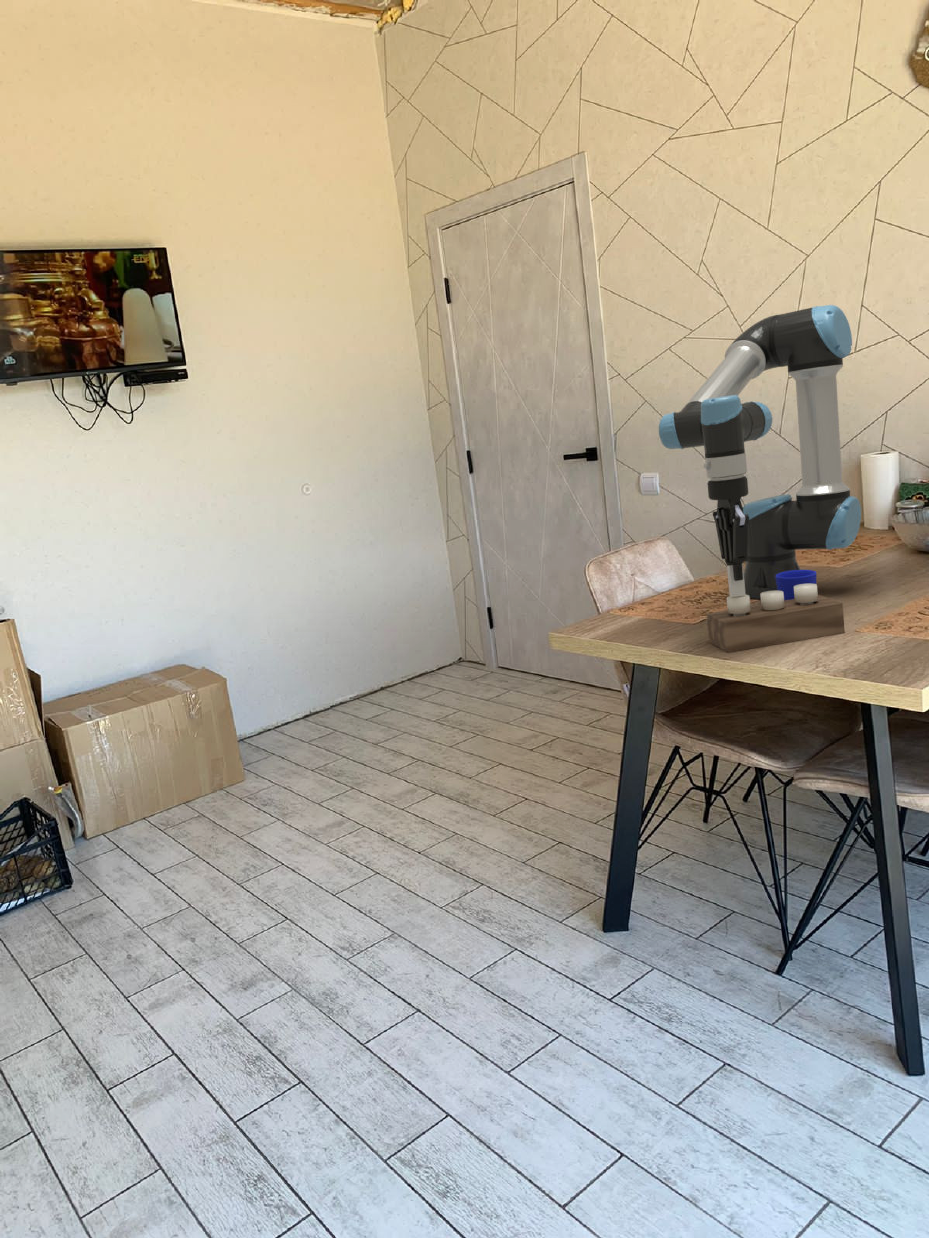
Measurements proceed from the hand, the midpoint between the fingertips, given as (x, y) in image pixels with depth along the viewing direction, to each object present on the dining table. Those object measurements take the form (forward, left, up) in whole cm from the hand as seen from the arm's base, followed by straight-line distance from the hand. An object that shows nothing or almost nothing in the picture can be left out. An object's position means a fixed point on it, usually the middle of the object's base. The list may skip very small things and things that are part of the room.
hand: (737, 595), depth 186 cm
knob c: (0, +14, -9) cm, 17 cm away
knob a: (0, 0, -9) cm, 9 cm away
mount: (0, +7, -10) cm, 12 cm away
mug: (-13, +18, -10) cm, 24 cm away
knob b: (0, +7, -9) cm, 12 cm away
